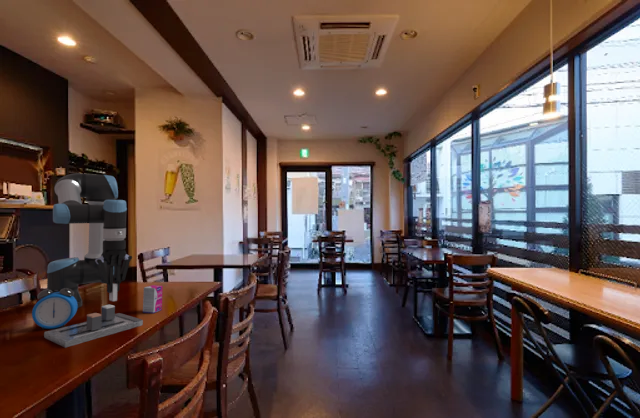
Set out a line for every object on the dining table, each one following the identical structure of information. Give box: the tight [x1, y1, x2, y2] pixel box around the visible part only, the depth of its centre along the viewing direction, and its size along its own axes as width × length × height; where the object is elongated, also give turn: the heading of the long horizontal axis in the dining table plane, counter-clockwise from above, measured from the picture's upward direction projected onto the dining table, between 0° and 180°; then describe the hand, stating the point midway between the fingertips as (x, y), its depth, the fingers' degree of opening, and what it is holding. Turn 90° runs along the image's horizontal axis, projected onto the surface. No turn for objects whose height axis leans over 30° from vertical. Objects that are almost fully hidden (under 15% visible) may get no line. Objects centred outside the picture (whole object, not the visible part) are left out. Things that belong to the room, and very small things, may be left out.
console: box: [43, 312, 144, 349], centre depth 122 cm, size 17×26×2 cm, turn 149°
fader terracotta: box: [86, 312, 102, 331], centre depth 118 cm, size 4×3×5 cm
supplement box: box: [142, 284, 163, 315], centre depth 148 cm, size 6×6×12 cm
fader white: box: [101, 304, 116, 321], centre depth 129 cm, size 4×3×5 cm
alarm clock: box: [31, 288, 79, 331], centre depth 127 cm, size 13×6×15 cm, turn 115°
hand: (113, 300), depth 124 cm, fingers closed
